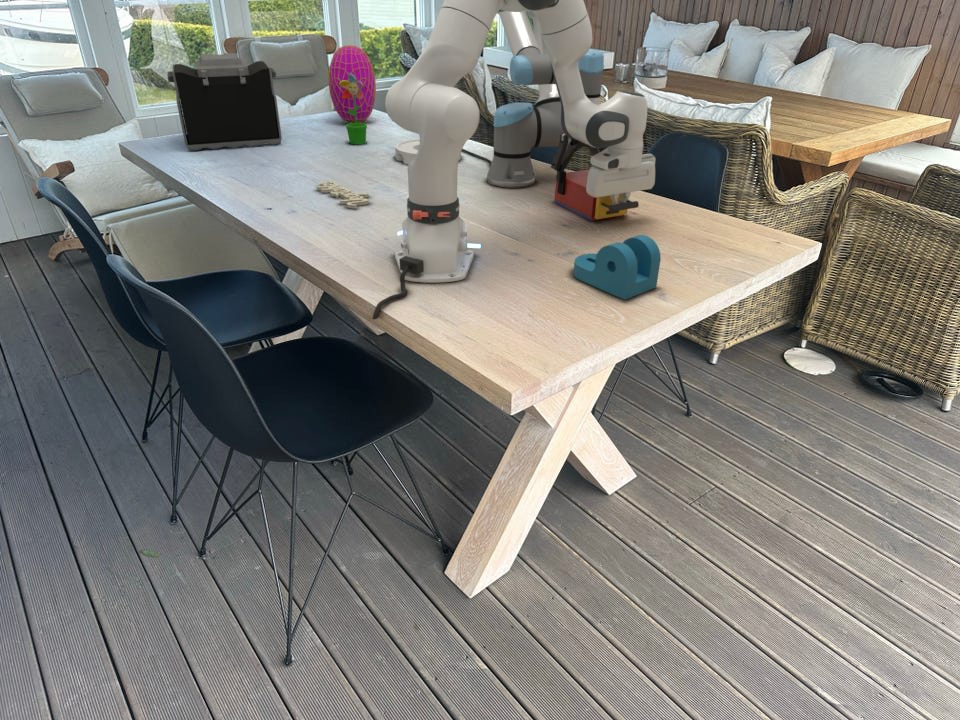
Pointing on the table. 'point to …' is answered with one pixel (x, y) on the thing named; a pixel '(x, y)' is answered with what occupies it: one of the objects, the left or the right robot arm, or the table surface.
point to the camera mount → (621, 267)
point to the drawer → (612, 207)
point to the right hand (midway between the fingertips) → (578, 191)
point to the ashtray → (407, 150)
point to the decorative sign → (344, 194)
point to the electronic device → (226, 103)
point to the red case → (577, 195)
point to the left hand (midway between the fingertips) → (618, 208)
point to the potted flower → (354, 129)
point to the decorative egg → (361, 68)
